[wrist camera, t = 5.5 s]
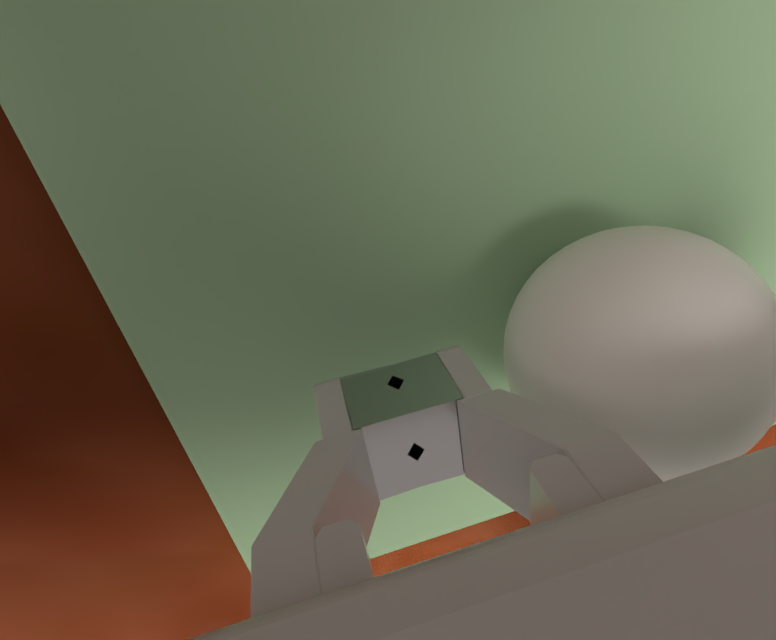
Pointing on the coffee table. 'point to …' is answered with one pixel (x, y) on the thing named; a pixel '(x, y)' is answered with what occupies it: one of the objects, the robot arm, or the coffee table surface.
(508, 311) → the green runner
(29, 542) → the coffee table surface
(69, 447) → the coffee table surface
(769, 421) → the ball
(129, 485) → the coffee table surface
